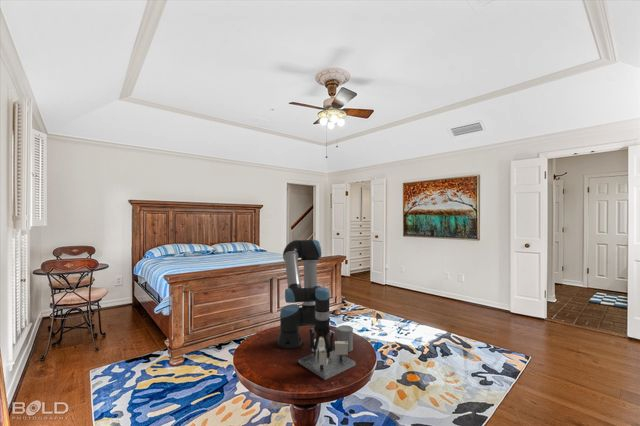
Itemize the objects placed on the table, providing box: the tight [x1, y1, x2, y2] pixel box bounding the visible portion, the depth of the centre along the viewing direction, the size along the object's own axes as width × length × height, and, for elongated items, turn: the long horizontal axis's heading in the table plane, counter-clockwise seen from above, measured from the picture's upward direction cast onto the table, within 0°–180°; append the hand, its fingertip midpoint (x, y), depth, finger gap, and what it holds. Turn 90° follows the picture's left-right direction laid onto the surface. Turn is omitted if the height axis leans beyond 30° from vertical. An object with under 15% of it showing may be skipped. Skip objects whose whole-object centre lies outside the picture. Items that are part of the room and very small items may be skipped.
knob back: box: [311, 336, 326, 353], centre depth 171 cm, size 7×3×10 cm, turn 130°
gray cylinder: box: [336, 324, 354, 353], centre depth 185 cm, size 10×10×12 cm
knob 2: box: [334, 340, 349, 360], centre depth 167 cm, size 7×3×10 cm, turn 87°
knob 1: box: [319, 347, 326, 368], centre depth 158 cm, size 7×3×10 cm, turn 4°
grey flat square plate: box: [297, 348, 357, 381], centre depth 166 cm, size 22×22×3 cm
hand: (321, 362), depth 158 cm, fingers closed on knob 1, 4 cm apart
